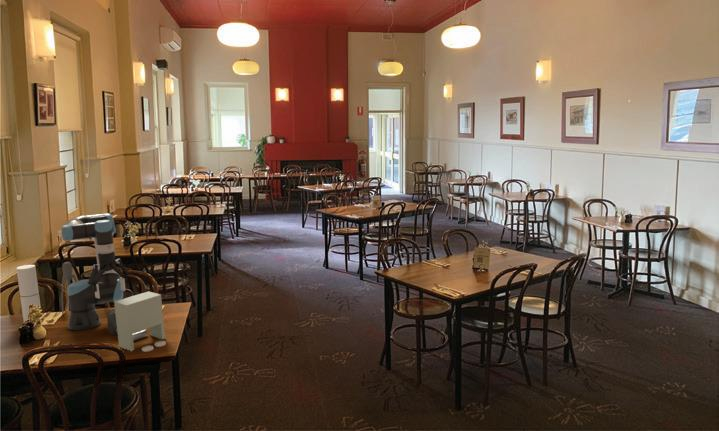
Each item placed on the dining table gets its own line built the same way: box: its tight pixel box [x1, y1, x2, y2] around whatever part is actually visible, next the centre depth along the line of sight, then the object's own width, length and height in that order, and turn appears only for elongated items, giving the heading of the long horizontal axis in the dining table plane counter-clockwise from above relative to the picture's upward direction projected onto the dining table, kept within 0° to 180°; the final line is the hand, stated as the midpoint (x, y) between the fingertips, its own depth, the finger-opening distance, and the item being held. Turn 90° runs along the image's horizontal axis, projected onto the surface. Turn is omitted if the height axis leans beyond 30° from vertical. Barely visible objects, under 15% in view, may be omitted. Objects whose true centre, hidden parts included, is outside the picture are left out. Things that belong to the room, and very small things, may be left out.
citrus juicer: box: [60, 261, 78, 315], centre depth 315 cm, size 11×10×30 cm
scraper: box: [106, 309, 148, 342], centre depth 285 cm, size 20×13×11 cm, turn 53°
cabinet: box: [113, 290, 166, 352], centre depth 274 cm, size 10×18×22 cm, turn 143°
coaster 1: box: [141, 344, 154, 353], centre depth 268 cm, size 5×5×1 cm
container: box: [15, 264, 42, 323], centre depth 307 cm, size 9×9×30 cm
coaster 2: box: [154, 340, 167, 348], centre depth 273 cm, size 5×5×1 cm
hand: (110, 294), depth 287 cm, fingers open, 13 cm apart
